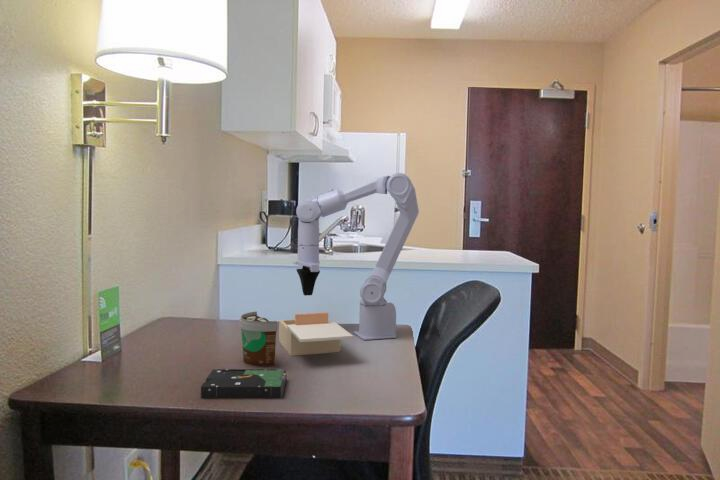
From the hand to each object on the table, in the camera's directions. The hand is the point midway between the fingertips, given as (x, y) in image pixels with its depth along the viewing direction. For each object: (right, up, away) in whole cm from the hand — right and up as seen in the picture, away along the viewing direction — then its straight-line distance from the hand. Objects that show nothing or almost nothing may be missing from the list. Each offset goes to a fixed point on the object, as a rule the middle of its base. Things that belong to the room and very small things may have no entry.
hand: (307, 295), depth 145 cm
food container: (-10, -12, -26) cm, 30 cm away
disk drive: (-8, -14, -43) cm, 46 cm away
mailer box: (+1, -11, -12) cm, 17 cm away
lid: (+5, -7, -21) cm, 23 cm away
